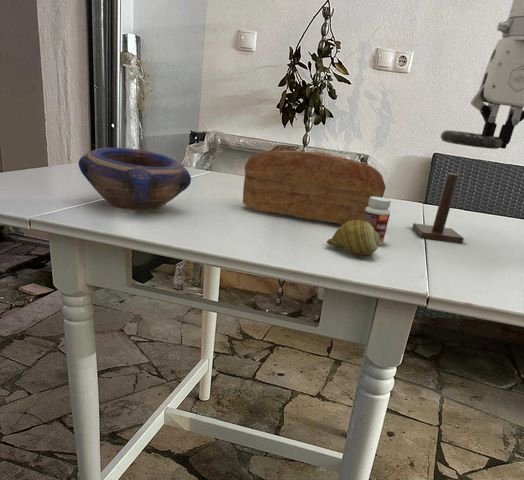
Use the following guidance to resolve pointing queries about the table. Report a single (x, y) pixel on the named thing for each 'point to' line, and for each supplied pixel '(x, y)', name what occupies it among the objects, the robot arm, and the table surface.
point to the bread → (310, 185)
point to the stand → (441, 216)
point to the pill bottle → (378, 215)
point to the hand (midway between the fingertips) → (493, 145)
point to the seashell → (356, 238)
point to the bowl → (134, 177)
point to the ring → (471, 139)
